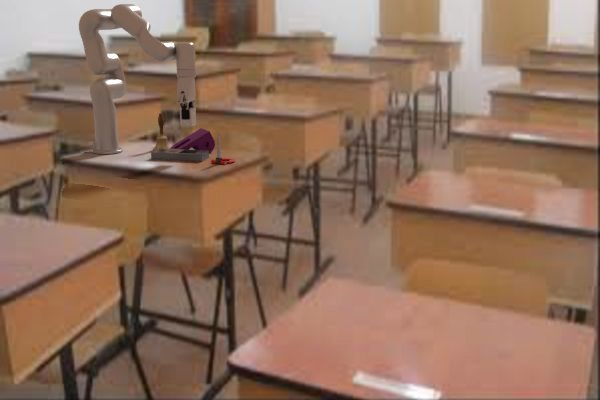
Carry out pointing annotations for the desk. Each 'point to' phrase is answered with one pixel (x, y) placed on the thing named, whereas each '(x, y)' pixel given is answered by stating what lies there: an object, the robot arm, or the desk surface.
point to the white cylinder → (191, 118)
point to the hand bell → (161, 136)
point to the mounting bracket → (197, 141)
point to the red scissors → (218, 158)
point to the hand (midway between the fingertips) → (188, 117)
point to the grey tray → (180, 155)
